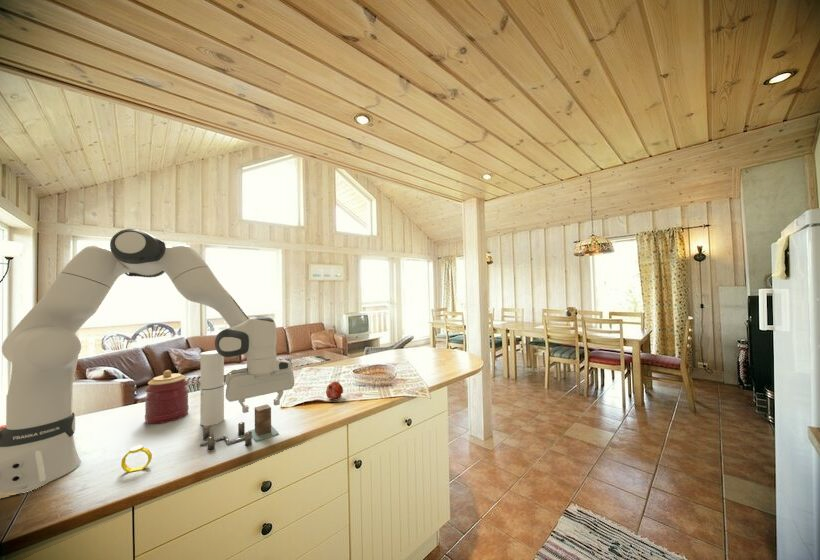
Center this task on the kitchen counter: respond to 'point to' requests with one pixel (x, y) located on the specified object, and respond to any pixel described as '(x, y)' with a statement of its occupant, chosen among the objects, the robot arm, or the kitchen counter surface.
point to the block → (262, 419)
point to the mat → (264, 436)
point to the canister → (166, 398)
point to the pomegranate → (334, 390)
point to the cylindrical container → (212, 388)
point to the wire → (225, 440)
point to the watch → (134, 450)
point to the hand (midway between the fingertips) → (261, 408)
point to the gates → (212, 438)
